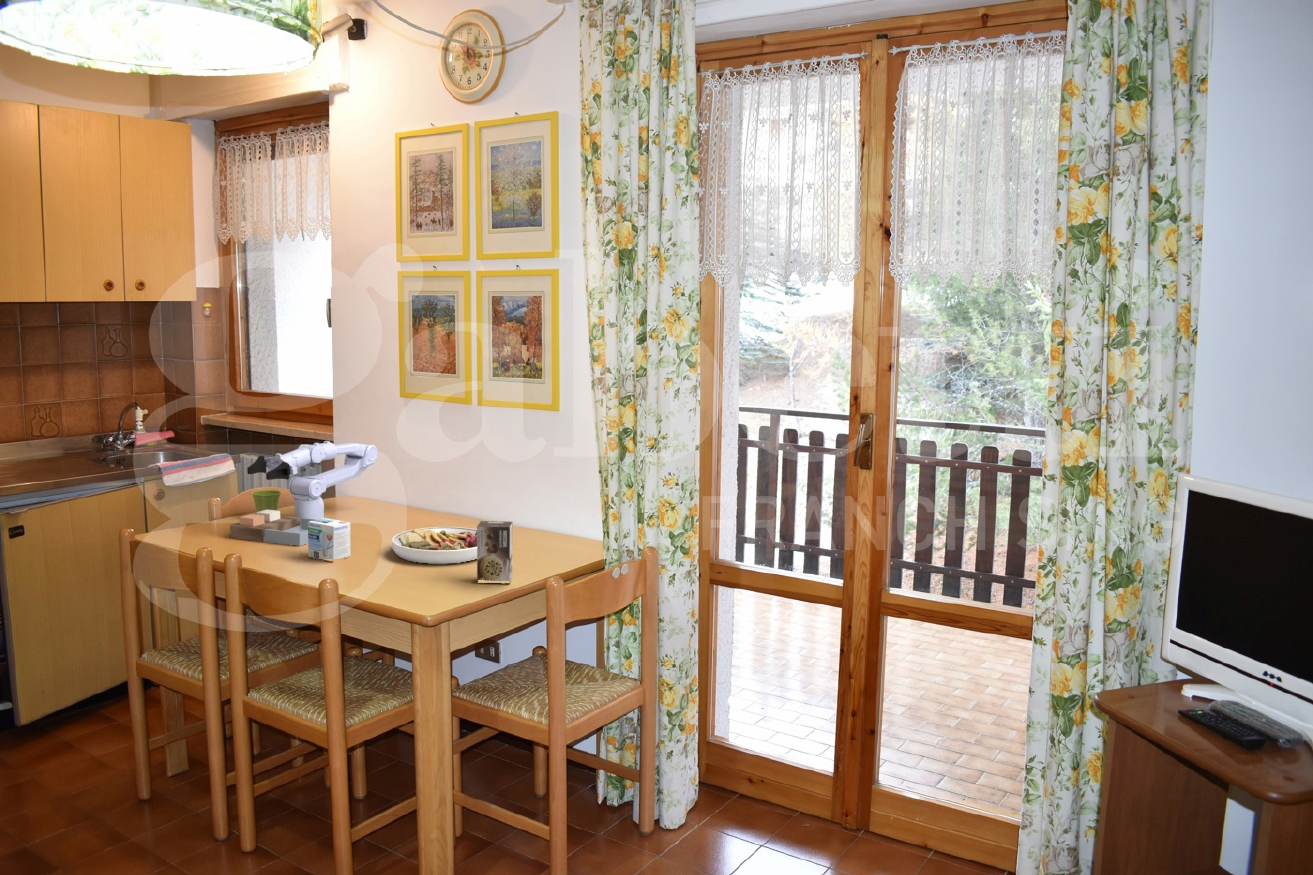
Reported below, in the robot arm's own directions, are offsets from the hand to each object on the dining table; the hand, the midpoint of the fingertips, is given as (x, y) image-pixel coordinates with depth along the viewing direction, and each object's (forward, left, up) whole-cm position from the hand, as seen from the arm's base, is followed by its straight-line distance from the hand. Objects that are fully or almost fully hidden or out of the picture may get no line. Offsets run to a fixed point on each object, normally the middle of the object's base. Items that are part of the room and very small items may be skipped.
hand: (257, 473), depth 294 cm
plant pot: (-23, -16, -20) cm, 34 cm away
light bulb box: (+12, +34, -20) cm, 42 cm away
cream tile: (-6, -2, -16) cm, 17 cm away
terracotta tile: (+1, -2, -16) cm, 16 cm away
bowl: (-6, +61, -21) cm, 65 cm away
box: (-4, +12, -20) cm, 24 cm away
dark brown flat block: (-4, -1, -20) cm, 20 cm away
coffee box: (+14, +88, -20) cm, 92 cm away
